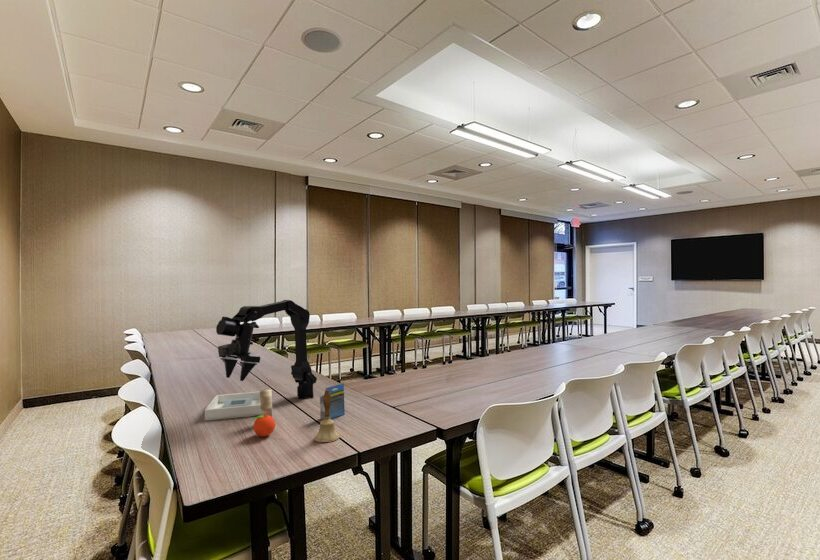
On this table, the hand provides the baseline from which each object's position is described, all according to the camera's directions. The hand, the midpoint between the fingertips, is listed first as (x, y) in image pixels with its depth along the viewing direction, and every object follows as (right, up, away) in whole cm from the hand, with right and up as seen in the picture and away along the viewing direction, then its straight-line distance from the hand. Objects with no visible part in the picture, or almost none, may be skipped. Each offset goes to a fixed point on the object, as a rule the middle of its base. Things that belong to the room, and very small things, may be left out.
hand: (234, 379), depth 149 cm
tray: (-4, -15, +12) cm, 20 cm away
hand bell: (+39, -15, -18) cm, 46 cm away
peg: (+14, -15, -4) cm, 21 cm away
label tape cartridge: (+37, -15, +2) cm, 40 cm away
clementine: (+17, -15, -16) cm, 28 cm away
